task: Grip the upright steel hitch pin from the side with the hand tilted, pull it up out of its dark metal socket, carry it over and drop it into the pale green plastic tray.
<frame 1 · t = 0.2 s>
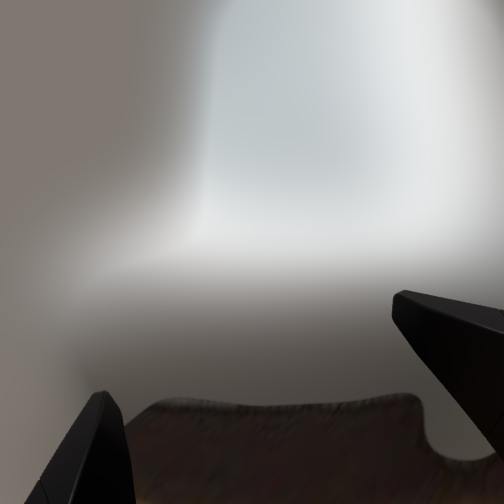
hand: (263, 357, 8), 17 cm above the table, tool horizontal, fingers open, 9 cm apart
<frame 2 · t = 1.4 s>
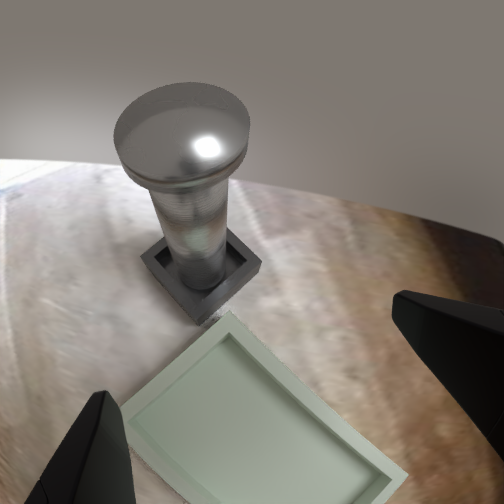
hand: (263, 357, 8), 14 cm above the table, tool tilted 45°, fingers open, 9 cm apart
tray: (263, 457, 18), on the table
pin: (201, 266, 23), point 1 cm above the table, touching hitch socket
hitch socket: (201, 270, 24), on the table
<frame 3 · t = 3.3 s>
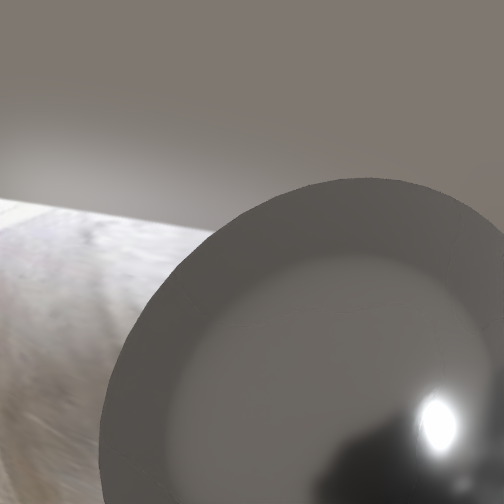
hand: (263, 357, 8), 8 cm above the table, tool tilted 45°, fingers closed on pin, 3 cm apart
pin: (254, 392, 15), point 1 cm above the table, touching gripper, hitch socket
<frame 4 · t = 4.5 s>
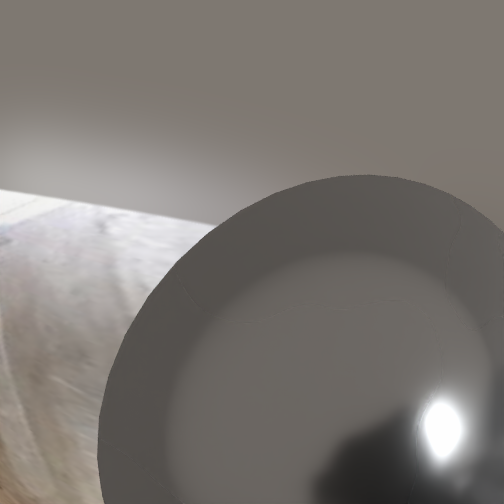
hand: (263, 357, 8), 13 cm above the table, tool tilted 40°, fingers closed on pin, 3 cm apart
pin: (254, 392, 15), point 6 cm above the table, tilted 5°, touching gripper
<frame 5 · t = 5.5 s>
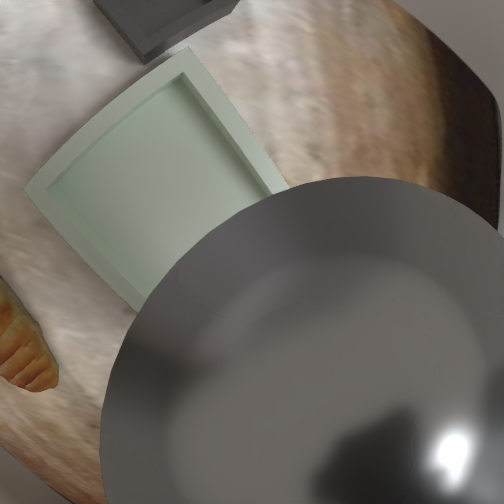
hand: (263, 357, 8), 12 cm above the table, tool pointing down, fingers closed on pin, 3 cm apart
tray: (199, 232, 19), on the table
pin: (253, 391, 15), point 8 cm above the table, tilted 45°, touching gripper
pastry: (9, 323, 17), on the table
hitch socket: (160, 2, 13), on the table
when the fingers open (6 cm above the table, at t = 6.6 s): pin stays where it is and tips over, resting on tray.
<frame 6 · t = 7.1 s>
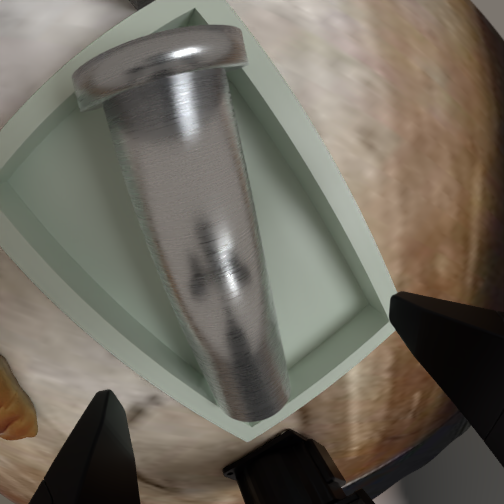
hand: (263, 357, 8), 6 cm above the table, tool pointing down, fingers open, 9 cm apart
tray: (212, 248, 13), on the table
pin: (253, 391, 14), point 2 cm above the table, tilted 85°, touching tray
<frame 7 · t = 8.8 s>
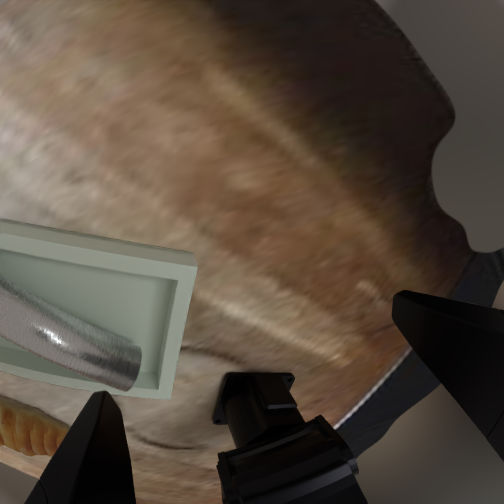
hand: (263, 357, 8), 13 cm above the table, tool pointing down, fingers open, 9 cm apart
tray: (56, 304, 19), on the table
pin: (130, 368, 20), point 2 cm above the table, tilted 85°, touching tray
pastry: (28, 417, 21), on the table
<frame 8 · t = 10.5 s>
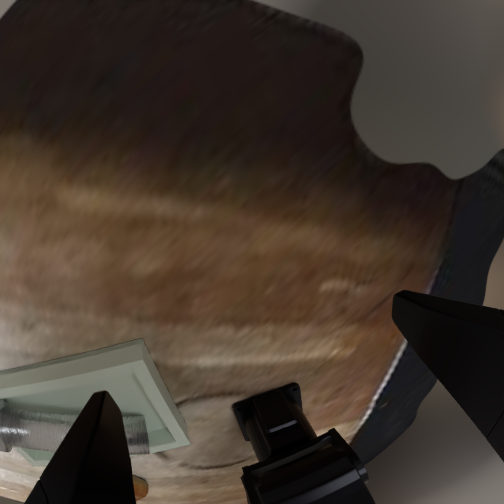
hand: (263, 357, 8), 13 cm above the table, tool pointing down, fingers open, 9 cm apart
tray: (75, 407, 22), on the table
pin: (146, 435, 22), point 2 cm above the table, tilted 85°, touching tray
pastry: (105, 479, 27), on the table
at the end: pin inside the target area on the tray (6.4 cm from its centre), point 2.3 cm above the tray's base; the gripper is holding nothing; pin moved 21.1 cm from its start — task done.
